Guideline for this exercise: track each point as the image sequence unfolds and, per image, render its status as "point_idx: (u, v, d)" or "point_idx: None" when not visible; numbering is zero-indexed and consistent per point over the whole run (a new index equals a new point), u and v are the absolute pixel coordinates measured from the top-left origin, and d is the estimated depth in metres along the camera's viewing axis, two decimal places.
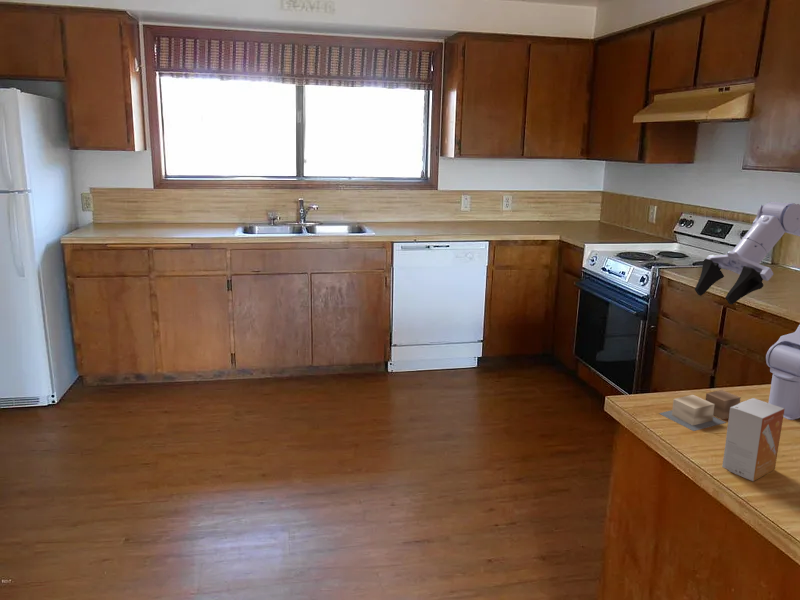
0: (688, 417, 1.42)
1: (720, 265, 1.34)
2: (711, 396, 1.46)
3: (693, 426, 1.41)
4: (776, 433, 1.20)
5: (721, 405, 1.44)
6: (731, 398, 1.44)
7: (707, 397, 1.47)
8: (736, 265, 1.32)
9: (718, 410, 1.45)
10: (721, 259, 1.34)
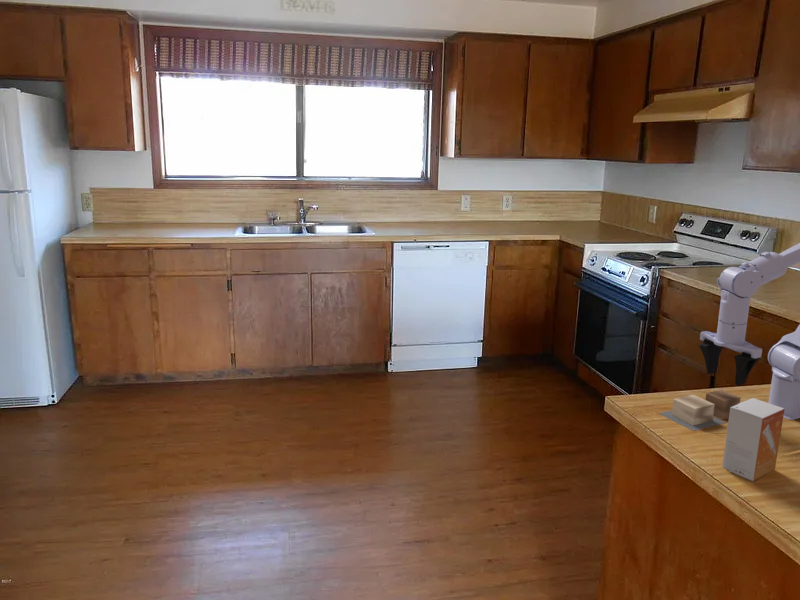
0: (688, 417, 1.42)
1: None
2: (711, 396, 1.46)
3: (693, 426, 1.41)
4: (776, 433, 1.20)
5: (721, 405, 1.44)
6: (731, 398, 1.44)
7: (707, 397, 1.47)
8: None
9: (718, 410, 1.45)
10: None
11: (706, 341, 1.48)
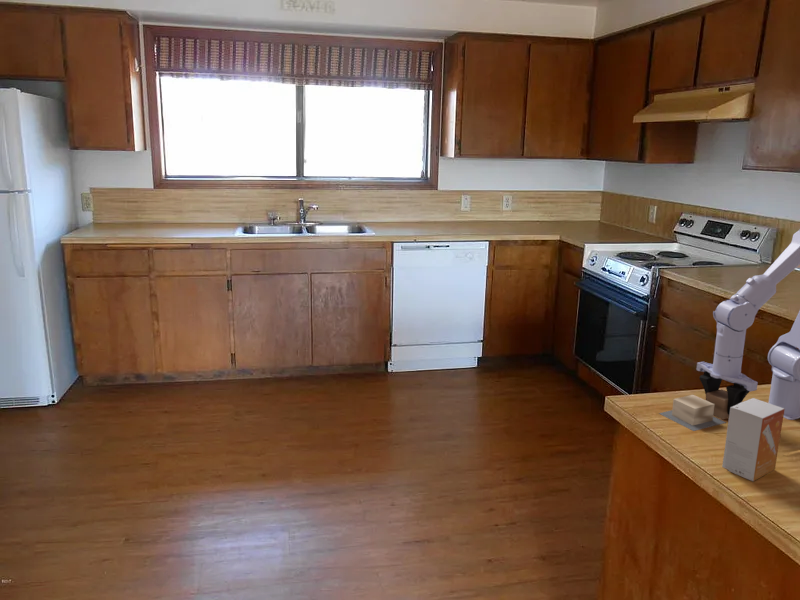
0: (688, 417, 1.42)
1: None
2: (711, 396, 1.46)
3: (693, 426, 1.41)
4: (776, 433, 1.20)
5: (721, 405, 1.44)
6: None
7: (707, 397, 1.47)
8: None
9: (718, 410, 1.45)
10: None
11: None
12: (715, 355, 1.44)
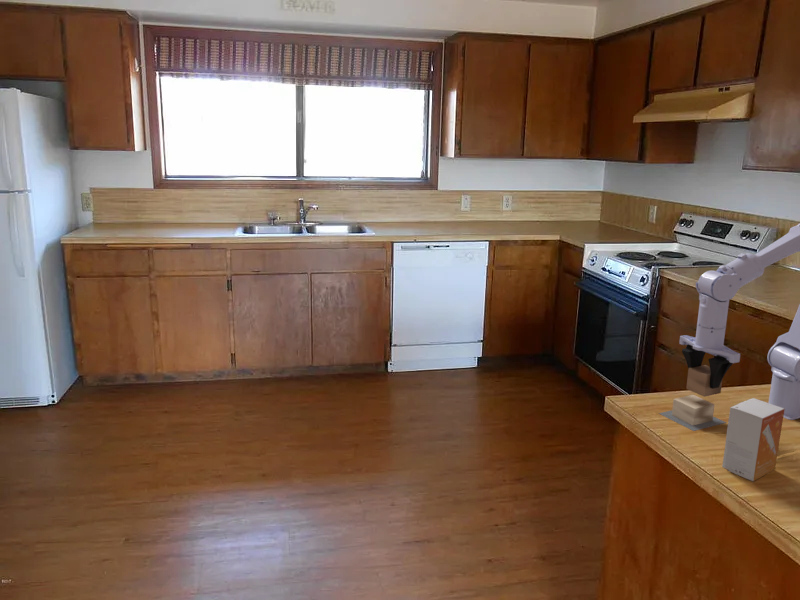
0: (688, 417, 1.42)
1: None
2: (693, 371, 1.43)
3: (693, 426, 1.41)
4: (776, 433, 1.20)
5: (703, 380, 1.41)
6: None
7: (689, 372, 1.44)
8: None
9: (700, 385, 1.41)
10: None
11: None
12: (698, 327, 1.41)
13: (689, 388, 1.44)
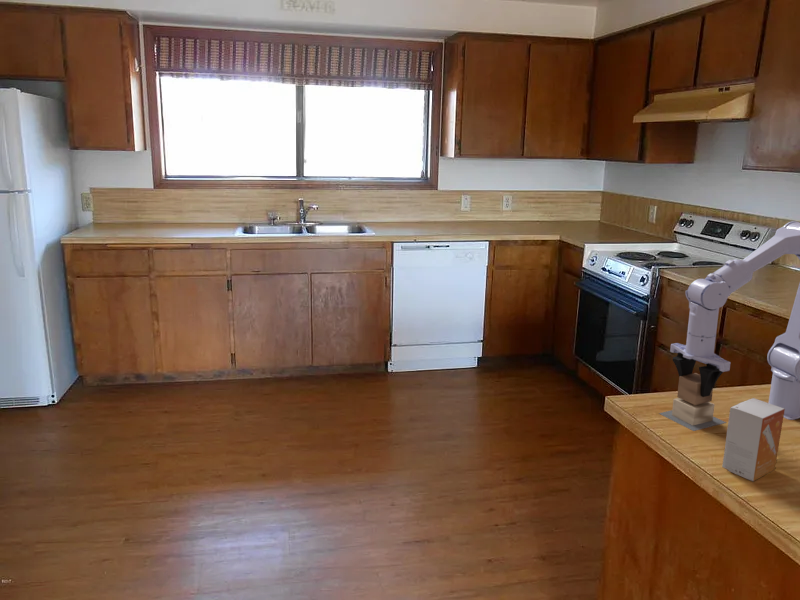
0: (688, 417, 1.42)
1: None
2: (684, 379, 1.43)
3: (693, 426, 1.41)
4: (776, 433, 1.20)
5: (694, 388, 1.40)
6: None
7: (680, 380, 1.44)
8: None
9: (691, 394, 1.41)
10: None
11: None
12: (688, 335, 1.40)
13: (680, 396, 1.44)
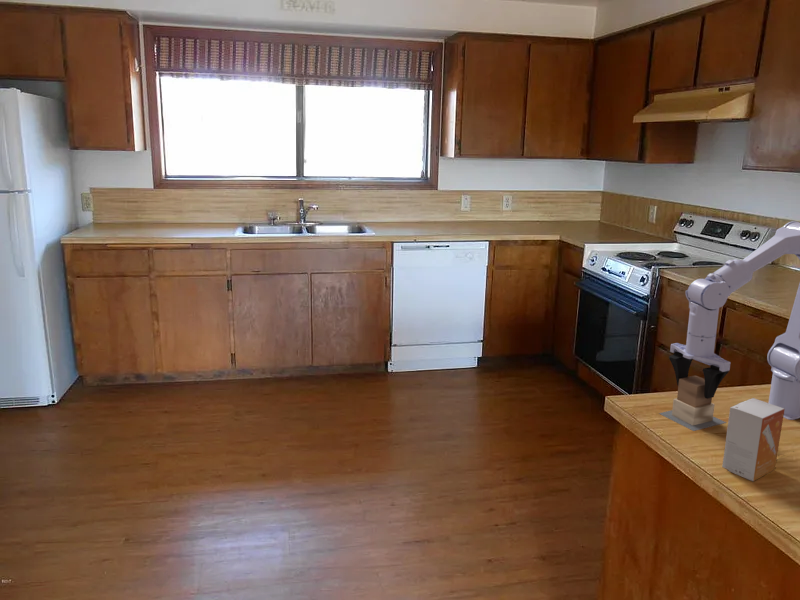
0: (688, 417, 1.42)
1: None
2: (684, 382, 1.43)
3: (693, 426, 1.41)
4: (776, 433, 1.20)
5: (693, 391, 1.41)
6: (704, 383, 1.41)
7: (680, 383, 1.44)
8: None
9: (691, 396, 1.41)
10: None
11: (676, 353, 1.46)
12: (688, 335, 1.40)
13: (680, 399, 1.44)
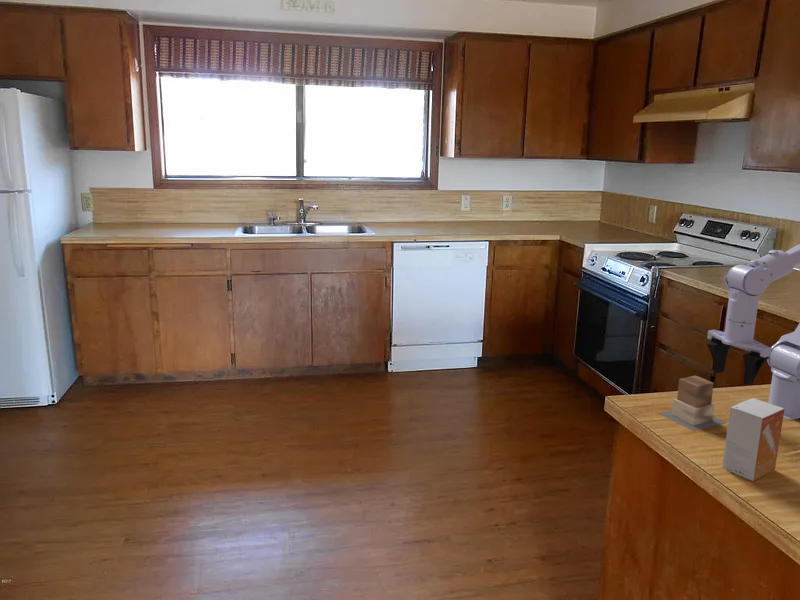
0: (688, 417, 1.42)
1: None
2: (684, 382, 1.43)
3: (693, 426, 1.41)
4: (776, 433, 1.20)
5: (693, 391, 1.41)
6: (704, 383, 1.41)
7: (680, 383, 1.44)
8: None
9: (691, 396, 1.41)
10: None
11: (714, 340, 1.46)
12: (727, 321, 1.40)
13: (680, 399, 1.44)
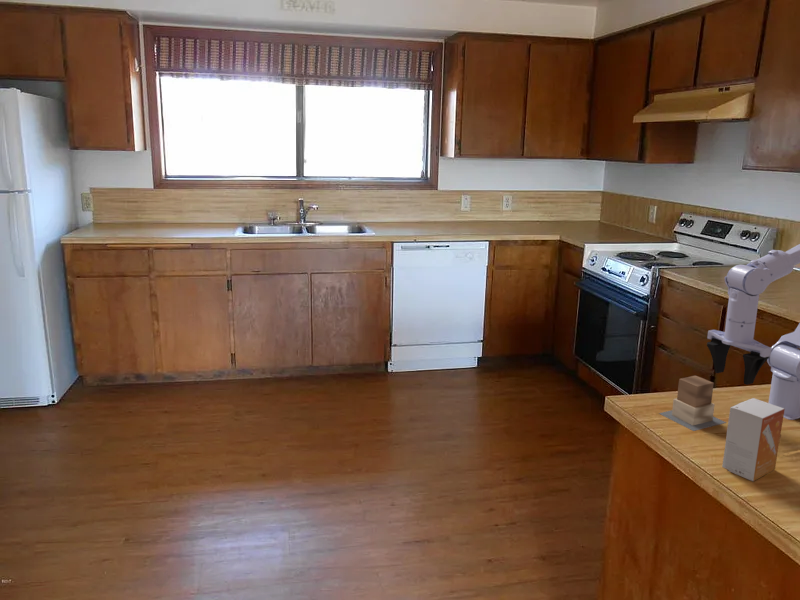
0: (688, 417, 1.42)
1: None
2: (684, 382, 1.43)
3: (693, 426, 1.41)
4: (776, 433, 1.20)
5: (693, 391, 1.41)
6: (704, 383, 1.41)
7: (680, 383, 1.44)
8: None
9: (691, 396, 1.41)
10: None
11: (714, 340, 1.46)
12: (727, 321, 1.40)
13: (680, 399, 1.44)
